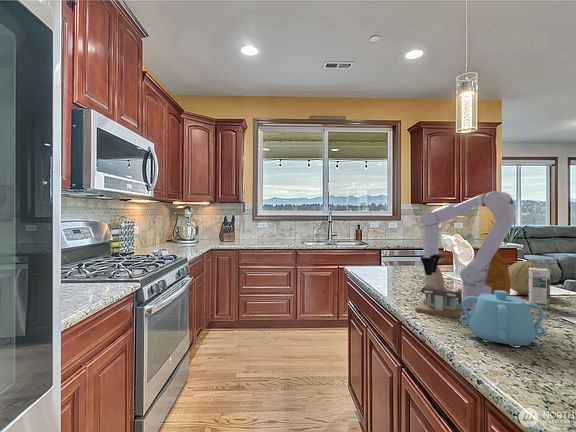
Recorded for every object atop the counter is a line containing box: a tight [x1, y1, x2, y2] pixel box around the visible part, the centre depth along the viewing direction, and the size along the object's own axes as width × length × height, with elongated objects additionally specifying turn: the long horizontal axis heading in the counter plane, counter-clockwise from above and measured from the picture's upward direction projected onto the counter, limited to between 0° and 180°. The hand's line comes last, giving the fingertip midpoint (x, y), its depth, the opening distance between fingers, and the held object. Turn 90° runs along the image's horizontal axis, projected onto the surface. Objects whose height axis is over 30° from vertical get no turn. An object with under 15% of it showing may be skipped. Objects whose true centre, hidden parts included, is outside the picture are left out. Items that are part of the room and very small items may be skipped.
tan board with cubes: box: [414, 294, 465, 319], centre depth 118 cm, size 12×15×6 cm
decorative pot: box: [459, 290, 547, 347], centre depth 92 cm, size 16×16×14 cm
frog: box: [419, 251, 452, 292], centre depth 148 cm, size 12×13×18 cm
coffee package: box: [484, 247, 511, 296], centre depth 133 cm, size 10×12×22 cm
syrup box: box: [528, 267, 551, 309], centre depth 125 cm, size 6×6×14 cm
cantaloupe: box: [508, 260, 542, 296], centre depth 143 cm, size 15×15×15 cm
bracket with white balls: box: [421, 285, 463, 306], centre depth 118 cm, size 8×12×5 cm, turn 54°
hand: (430, 273), depth 135 cm, fingers open, 7 cm apart
